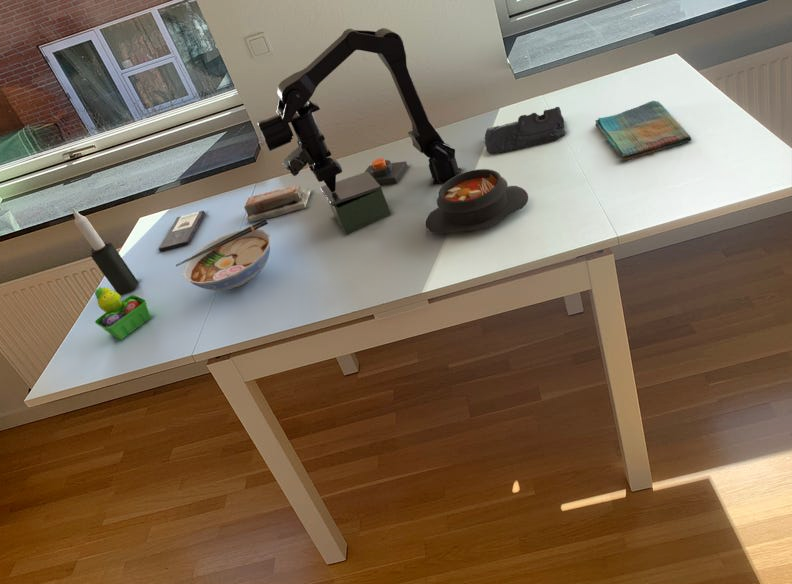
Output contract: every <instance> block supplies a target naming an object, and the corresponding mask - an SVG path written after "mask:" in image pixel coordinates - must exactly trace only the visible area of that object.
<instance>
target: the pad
mask: <svg viewBox="0 0 792 584" xmlns="http://www.w3.org/2000/svg"><path fill="white" fill-rule="evenodd" d="M384 160H385V163H386V166H385V167H384V168H382V169H379V170H374V168H373V165H372V164H370V165H368V166H367V168H366V169H365V170H364V172H368V173H369V174H370V175H371V176H372V177H373V178H374V179H375V180H376V182H377V183H378V184H379V185H380V186H382V185H383V186H385V185H393V184H397V183H399V181H400V180H401V178H402V176H403V175H404V174H405V172H406V171H407V170H408V168H409V165H408V163H407V161H398V162H391V160H389V159H384Z"/></svg>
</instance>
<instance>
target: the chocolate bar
mask: <svg viewBox="0 0 792 584" xmlns="http://www.w3.org/2000/svg"><path fill="white" fill-rule="evenodd" d="M205 214H206V212H205V210H200V211H196V212H192V213H189V214H185V215H181V216H177V217H176V218H175V220H174V222H173V223H172V225H171V227H170V228H169V230H168V232H167V234H166V235H165V237H164V238H163V240H162V242H161V243H160V245H159V247H158V251H159V252H163V251H167V250H172V249H176V248H179V247H183V246H187V245H189V244H190V242H191V240H192V238H193V236H194V234H195V233H196V231H197V229H198V227H199V225H200V223H201V221H202V220H203V218H204V217H205Z"/></svg>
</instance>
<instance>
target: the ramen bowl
mask: <svg viewBox="0 0 792 584" xmlns="http://www.w3.org/2000/svg"><path fill="white" fill-rule="evenodd" d="M268 225H269V222H268V221H267V218H265V219H261V220H258V222H255V223H253V224H252V225H251V226H248V227H246V228H244V229H241V230H236V231H234V232H233V231H232V232H231V233H228V234H225V235H222V236H220V237H218V238H216V239H214V240H213V241H211V242H209V243H207V244H206V245H204V246H202V247H201V248H200V249H199V250H198V251H197V252H195V253H194V254H193V255H192V256H190V257H188V258H187V259H184V260H182V261H181V262H178V263H177V264H176V267H178V266H180V265H183V264H185V263H186V264H185V265H184V267H183V268H184V269H183V274H182V275H183V277H184V278H185V279H186V280H187V281H188V282H189V283H191V284H192V285H194V286H196V287H198V288H201V289H206V290H209V291H210V290H211V291H216V292H220V291H221V292H222V291H227V290H232V289H235V288H238V287H240V286H243V285H245V284H247V283H248V282H250V281H251V280H253V279H254V278H255V277H256V276H257V275H259V274H260V273H261V271H263V269H264V267H265V266H266V264H267V263H268V260H269V257H270V252H271V236H270V234H269V233H268V232H267V231H265V230H264V229H260V228H263V227H264V226H268Z"/></svg>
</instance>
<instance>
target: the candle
mask: <svg viewBox="0 0 792 584" xmlns="http://www.w3.org/2000/svg"><path fill="white" fill-rule="evenodd" d="M71 211H72V213H73V216H74V224H75V225H76V226H77V228H78V229H79V231H80V232H81V233H82V236H84V238H85V239H86V240H87V242H88V243H89V245H90V247H91V249H92V250H90V252H91V253H90V257H91V259H92V260H93V262H94V263H95V265H96V266H97V267H98V269H99V270H100V272H101V273H102V274H103V275H104V277H105V278H106V280H107V281H108V283H109V284H110V285H111V286H112V288H113V289H114V292H117V293H118V294H119V295H120V296H123V295H125V294H128V293H129V294H130V293H132V292H134V291H135V290H136V287H137V286H138V283H139V281H138V279H137V278H136V277H135V275H134V273H133V272H132V271H131V269H130V267H129V266H128V264H127V263H126V262H125V260H124V258H123V257H122V256H121V254H120V253H119V252H118V250H117V249H116V247H115V246H114V245H113V243H112V242H108V241H104V240H102V238H101V236H100V235H99V234H98V232H97V231H96V229H95V228H94V227H93V225H92V224H91V222H90V221H89V220H88V217H86V216H84V215H82V214H81V213H79V212H78V211H77V210H76V208H75V207H72V208H71Z"/></svg>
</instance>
